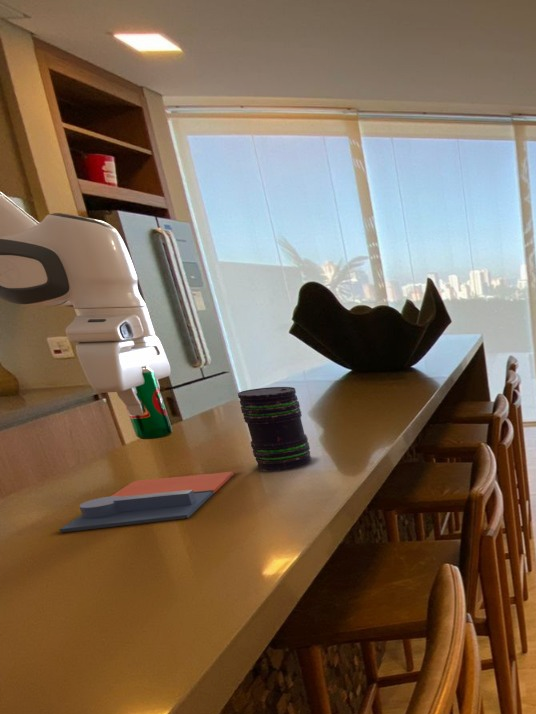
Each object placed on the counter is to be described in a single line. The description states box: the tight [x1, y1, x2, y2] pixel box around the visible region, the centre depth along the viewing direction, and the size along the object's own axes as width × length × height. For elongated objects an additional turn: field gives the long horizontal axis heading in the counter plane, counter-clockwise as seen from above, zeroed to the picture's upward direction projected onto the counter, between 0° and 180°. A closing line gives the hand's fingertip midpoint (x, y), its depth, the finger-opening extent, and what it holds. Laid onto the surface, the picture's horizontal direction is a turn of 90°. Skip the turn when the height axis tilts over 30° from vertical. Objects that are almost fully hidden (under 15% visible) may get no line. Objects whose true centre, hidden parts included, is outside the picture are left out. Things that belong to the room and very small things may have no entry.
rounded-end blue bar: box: [78, 490, 196, 518], centre depth 91 cm, size 15×5×2 cm, turn 109°
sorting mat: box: [59, 471, 235, 534], centre depth 97 cm, size 16×24×1 cm, turn 19°
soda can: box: [124, 365, 174, 440], centre depth 96 cm, size 5×5×12 cm
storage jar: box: [237, 386, 313, 472], centre depth 113 cm, size 10×10×15 cm
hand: (146, 411), depth 97 cm, fingers closed on soda can, 5 cm apart
